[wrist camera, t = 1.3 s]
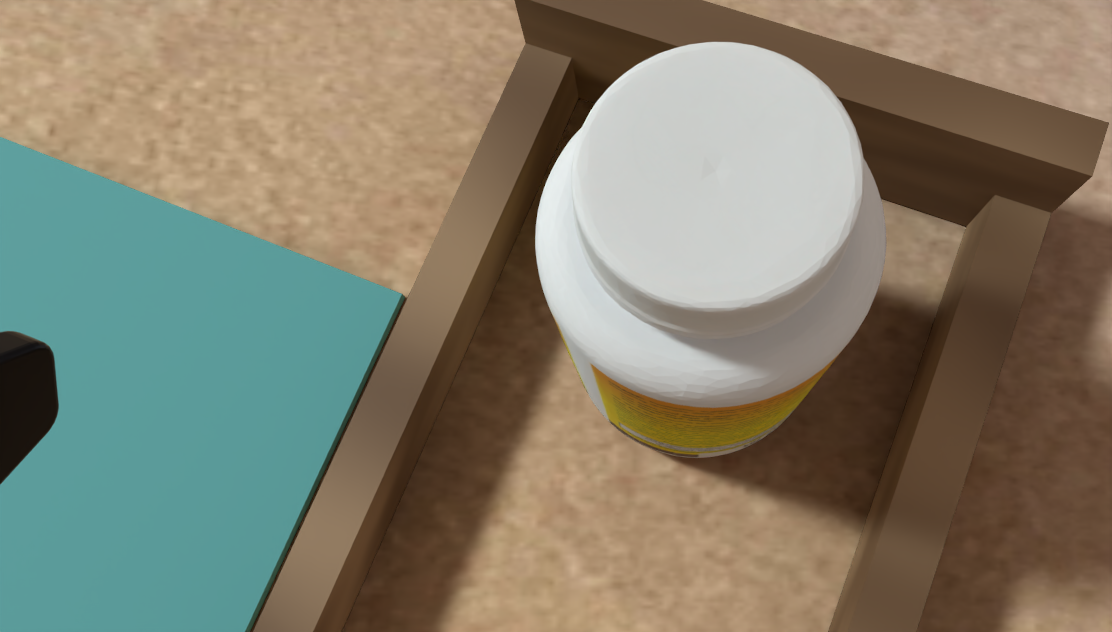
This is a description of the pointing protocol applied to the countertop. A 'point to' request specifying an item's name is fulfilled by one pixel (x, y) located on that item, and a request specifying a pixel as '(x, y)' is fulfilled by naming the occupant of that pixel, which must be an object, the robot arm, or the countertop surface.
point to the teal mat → (166, 403)
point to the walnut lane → (901, 177)
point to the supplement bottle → (709, 245)
